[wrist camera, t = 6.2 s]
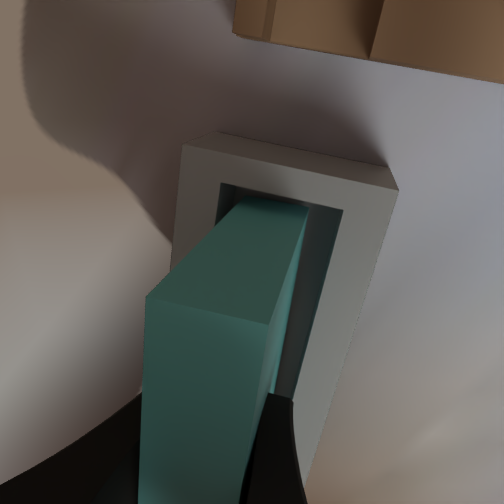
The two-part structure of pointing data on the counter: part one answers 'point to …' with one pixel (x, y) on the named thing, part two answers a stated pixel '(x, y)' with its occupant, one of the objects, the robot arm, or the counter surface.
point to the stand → (312, 253)
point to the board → (216, 354)
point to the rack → (386, 31)
